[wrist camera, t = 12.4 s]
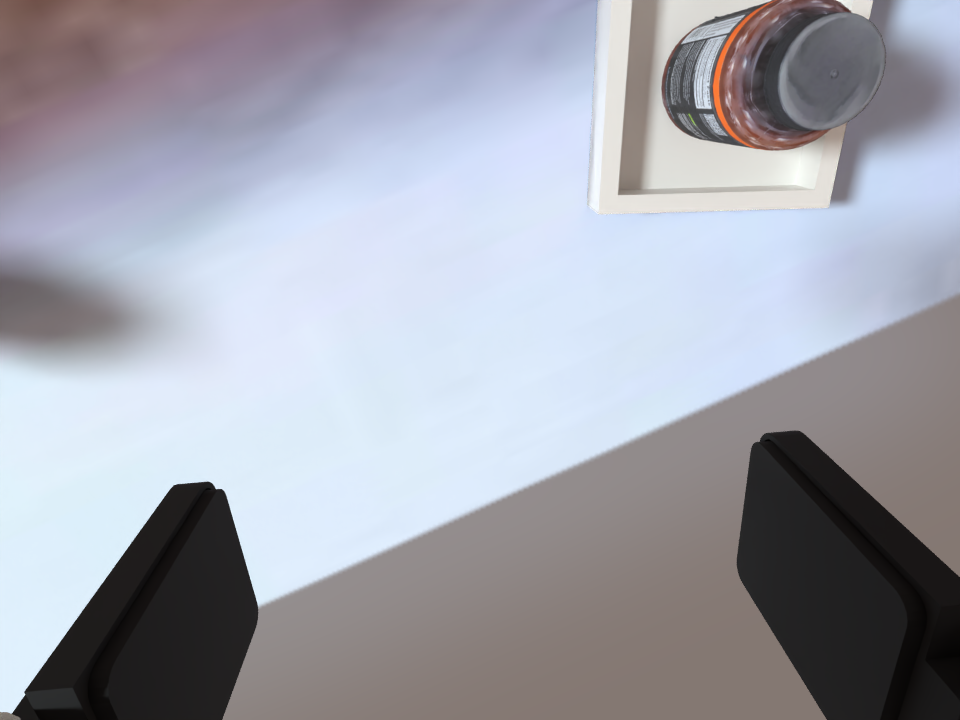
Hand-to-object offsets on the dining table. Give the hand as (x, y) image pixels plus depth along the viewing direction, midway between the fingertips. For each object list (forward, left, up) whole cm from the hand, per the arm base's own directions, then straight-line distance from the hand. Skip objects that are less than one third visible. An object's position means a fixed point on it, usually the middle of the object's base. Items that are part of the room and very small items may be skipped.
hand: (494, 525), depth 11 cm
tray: (-7, +14, -28) cm, 32 cm away
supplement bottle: (-7, +14, -27) cm, 31 cm away
